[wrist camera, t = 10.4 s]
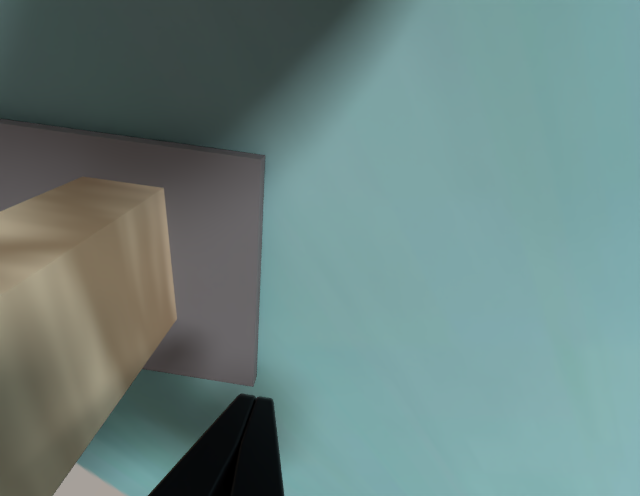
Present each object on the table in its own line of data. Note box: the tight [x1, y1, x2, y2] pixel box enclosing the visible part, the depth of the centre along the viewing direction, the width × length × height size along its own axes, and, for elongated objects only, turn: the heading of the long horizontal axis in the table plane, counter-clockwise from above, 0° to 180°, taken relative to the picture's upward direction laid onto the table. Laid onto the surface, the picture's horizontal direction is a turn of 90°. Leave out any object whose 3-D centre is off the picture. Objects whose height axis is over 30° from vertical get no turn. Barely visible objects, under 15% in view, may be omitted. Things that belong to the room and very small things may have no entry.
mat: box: [0, 119, 265, 387], centre depth 15 cm, size 16×11×1 cm
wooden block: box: [0, 177, 177, 496], centre depth 10 cm, size 3×6×9 cm, turn 174°
